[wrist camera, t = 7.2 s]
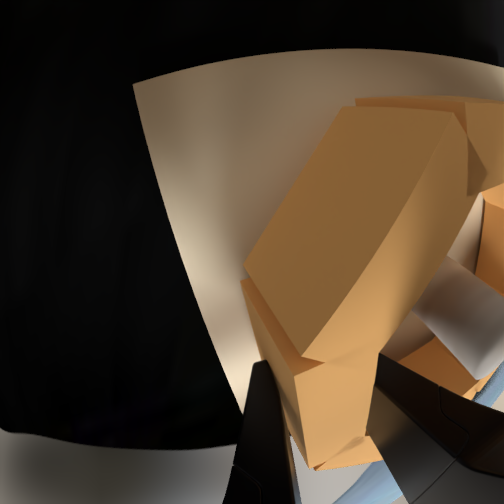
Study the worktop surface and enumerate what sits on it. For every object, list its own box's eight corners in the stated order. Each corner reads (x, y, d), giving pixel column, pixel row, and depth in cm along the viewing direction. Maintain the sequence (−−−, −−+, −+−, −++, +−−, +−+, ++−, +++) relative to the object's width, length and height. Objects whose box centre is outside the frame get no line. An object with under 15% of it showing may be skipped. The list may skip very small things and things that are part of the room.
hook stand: (475, 324, 16) (531, 381, 11) (249, 420, 15) (277, 523, 9) (498, 70, 9) (602, 87, 3) (139, 88, 8) (46, 41, 2)
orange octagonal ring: (475, 326, 14) (513, 358, 11) (283, 437, 12) (313, 498, 9) (502, 99, 8) (566, 112, 5) (200, 124, 6) (245, 124, 3)
